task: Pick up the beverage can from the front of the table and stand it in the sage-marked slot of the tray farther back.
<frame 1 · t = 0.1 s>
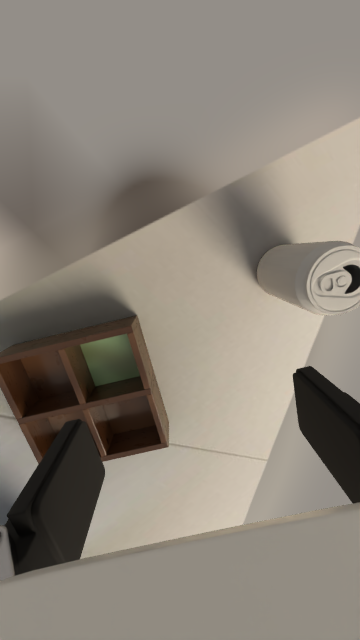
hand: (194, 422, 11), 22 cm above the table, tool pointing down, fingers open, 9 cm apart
tray: (95, 386, 35), on the table
beverage can: (278, 270, 31), on the table
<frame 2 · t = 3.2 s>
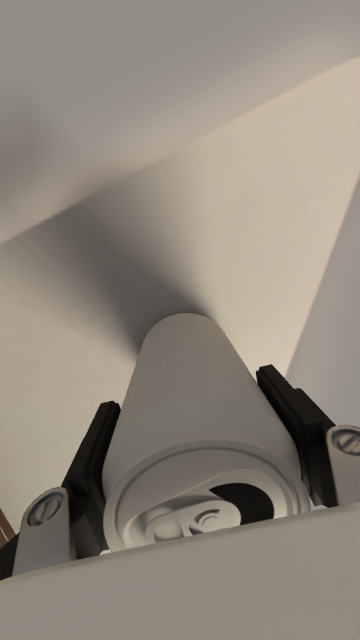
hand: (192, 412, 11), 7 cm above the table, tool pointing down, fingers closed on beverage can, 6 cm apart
beverage can: (184, 350, 18), on the table, touching gripper
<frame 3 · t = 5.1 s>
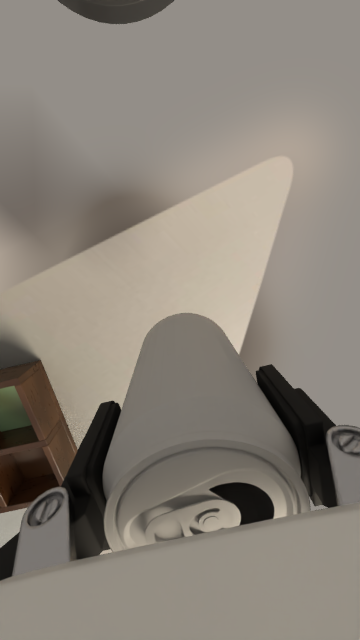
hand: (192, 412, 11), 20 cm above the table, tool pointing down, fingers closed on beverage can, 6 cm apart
tray: (4, 430, 34), on the table
beverage can: (184, 350, 18), point 12 cm above the table, touching gripper
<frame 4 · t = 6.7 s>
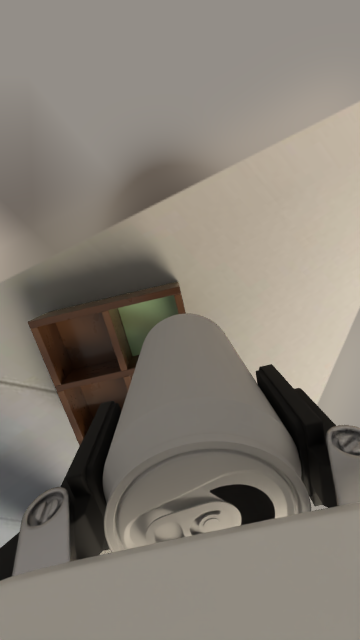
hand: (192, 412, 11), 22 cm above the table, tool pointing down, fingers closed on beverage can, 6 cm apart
tray: (131, 356, 34), on the table
beverage can: (185, 351, 18), point 14 cm above the table, touching gripper
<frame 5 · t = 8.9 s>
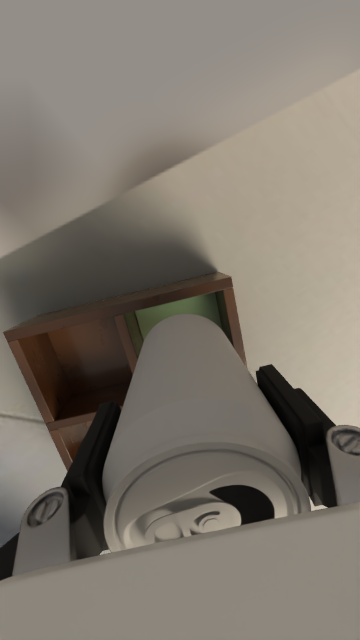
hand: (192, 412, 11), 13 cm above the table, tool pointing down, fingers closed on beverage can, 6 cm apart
tray: (151, 376, 25), on the table
beverage can: (184, 351, 18), point 5 cm above the table, touching gripper
when the fingers open (8 cm above the table, at t = 10.6 s): beverage can stays where it is, resting on tray.
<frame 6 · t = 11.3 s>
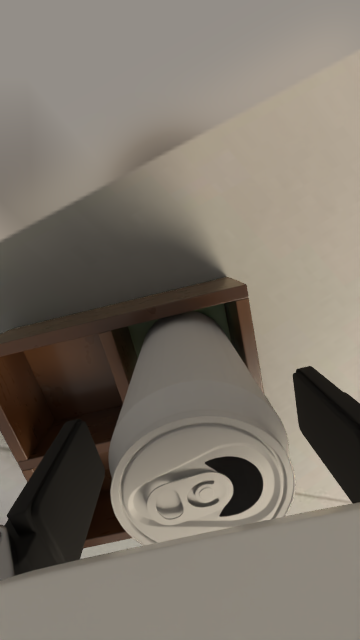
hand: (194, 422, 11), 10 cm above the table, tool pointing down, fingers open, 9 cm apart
tray: (147, 398, 21), on the table
beverage can: (184, 347, 19), point 1 cm above the table, touching tray
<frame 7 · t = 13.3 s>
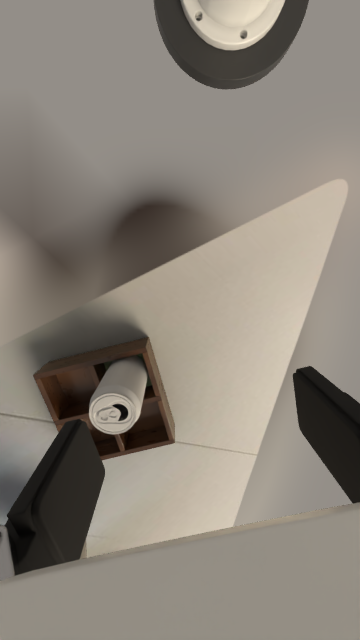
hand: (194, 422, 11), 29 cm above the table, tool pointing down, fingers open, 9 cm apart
tray: (114, 394, 43), on the table
beverage can: (129, 369, 41), point 1 cm above the table, touching tray
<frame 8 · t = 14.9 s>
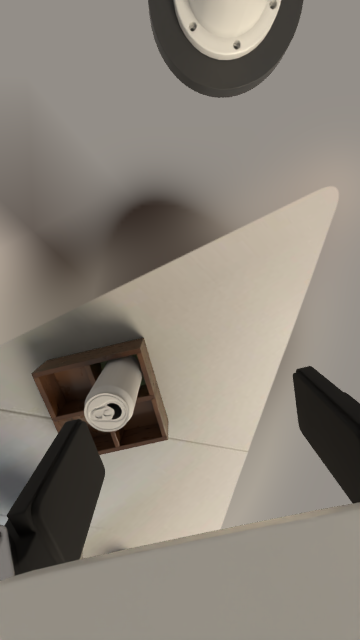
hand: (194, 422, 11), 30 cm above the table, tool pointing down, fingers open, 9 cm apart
tray: (110, 392, 44), on the table
beverage can: (125, 368, 42), point 1 cm above the table, touching tray
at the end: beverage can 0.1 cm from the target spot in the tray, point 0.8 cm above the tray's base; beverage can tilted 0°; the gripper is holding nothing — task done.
